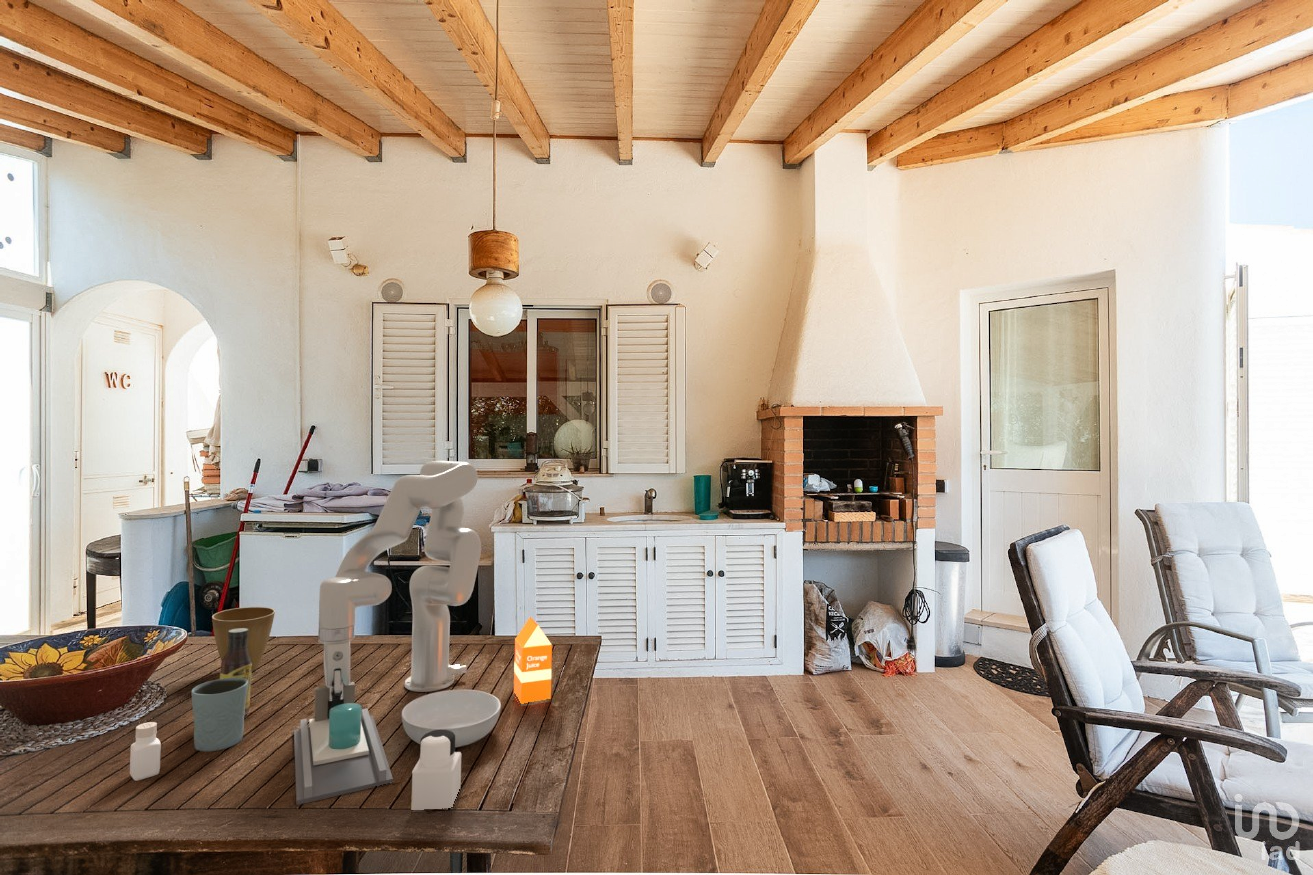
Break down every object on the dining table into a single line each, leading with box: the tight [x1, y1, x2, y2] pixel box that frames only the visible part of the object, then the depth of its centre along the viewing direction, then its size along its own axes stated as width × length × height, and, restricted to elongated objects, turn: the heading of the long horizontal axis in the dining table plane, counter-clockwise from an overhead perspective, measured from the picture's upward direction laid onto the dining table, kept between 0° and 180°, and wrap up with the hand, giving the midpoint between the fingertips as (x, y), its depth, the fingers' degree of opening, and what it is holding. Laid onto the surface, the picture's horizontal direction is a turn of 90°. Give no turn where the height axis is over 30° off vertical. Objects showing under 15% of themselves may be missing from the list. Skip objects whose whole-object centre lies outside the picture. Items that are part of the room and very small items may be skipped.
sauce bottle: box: [219, 628, 253, 716], centre depth 150 cm, size 7×6×20 cm
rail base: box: [293, 707, 394, 806], centre depth 131 cm, size 16×32×3 cm, turn 30°
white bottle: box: [410, 729, 462, 811], centre depth 116 cm, size 7×7×12 cm
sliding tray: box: [308, 681, 369, 766], centre depth 137 cm, size 10×22×8 cm, turn 30°
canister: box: [329, 702, 362, 749], centre depth 133 cm, size 6×6×7 cm
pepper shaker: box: [129, 721, 162, 782], centre depth 122 cm, size 4×4×10 cm
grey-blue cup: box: [191, 678, 248, 752], centre depth 137 cm, size 10×10×12 cm
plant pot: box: [211, 606, 276, 672], centre depth 179 cm, size 15×15×16 cm
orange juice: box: [513, 616, 553, 704], centre depth 164 cm, size 8×9×20 cm
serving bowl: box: [401, 689, 502, 748], centre depth 141 cm, size 21×21×7 cm
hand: (334, 711), depth 146 cm, fingers open, 4 cm apart
